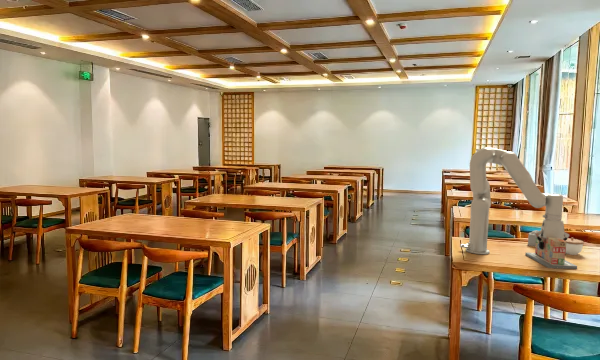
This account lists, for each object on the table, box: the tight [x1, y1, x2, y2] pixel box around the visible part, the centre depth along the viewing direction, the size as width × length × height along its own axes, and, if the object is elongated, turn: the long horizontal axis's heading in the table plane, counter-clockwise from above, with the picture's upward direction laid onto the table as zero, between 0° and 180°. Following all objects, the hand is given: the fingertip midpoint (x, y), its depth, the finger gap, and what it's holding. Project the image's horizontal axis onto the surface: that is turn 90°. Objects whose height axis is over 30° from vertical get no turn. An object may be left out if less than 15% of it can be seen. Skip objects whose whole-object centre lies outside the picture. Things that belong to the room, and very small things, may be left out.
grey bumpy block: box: [527, 229, 541, 248], centre depth 257 cm, size 10×13×9 cm
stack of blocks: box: [534, 237, 567, 265], centre depth 221 cm, size 21×6×12 cm, turn 171°
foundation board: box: [524, 252, 578, 270], centre depth 221 cm, size 14×24×2 cm, turn 177°
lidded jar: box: [565, 237, 584, 256], centre depth 238 cm, size 11×11×9 cm
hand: (550, 249), depth 220 cm, fingers open, 9 cm apart
